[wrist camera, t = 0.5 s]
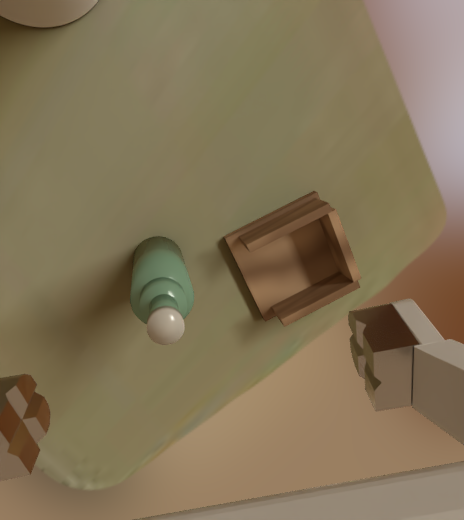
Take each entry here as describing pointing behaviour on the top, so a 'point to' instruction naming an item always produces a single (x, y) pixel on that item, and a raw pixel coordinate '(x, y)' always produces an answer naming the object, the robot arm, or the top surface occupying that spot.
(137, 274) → the bottle
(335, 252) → the u rest
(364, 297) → the top surface
